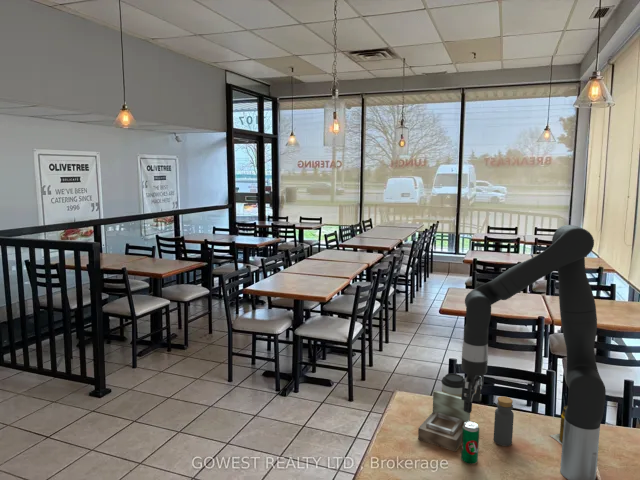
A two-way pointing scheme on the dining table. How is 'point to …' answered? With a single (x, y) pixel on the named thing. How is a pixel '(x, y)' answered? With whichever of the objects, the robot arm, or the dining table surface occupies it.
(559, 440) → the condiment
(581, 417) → the robot arm
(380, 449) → the dining table surface
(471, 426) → the soda can
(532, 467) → the dining table surface
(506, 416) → the bottle
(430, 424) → the display stand
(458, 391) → the coffee cup
